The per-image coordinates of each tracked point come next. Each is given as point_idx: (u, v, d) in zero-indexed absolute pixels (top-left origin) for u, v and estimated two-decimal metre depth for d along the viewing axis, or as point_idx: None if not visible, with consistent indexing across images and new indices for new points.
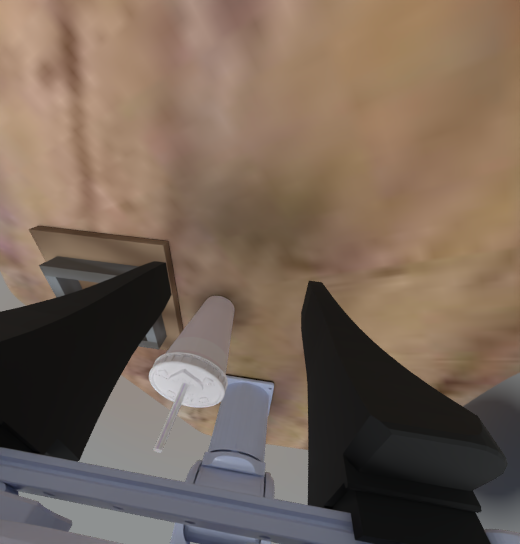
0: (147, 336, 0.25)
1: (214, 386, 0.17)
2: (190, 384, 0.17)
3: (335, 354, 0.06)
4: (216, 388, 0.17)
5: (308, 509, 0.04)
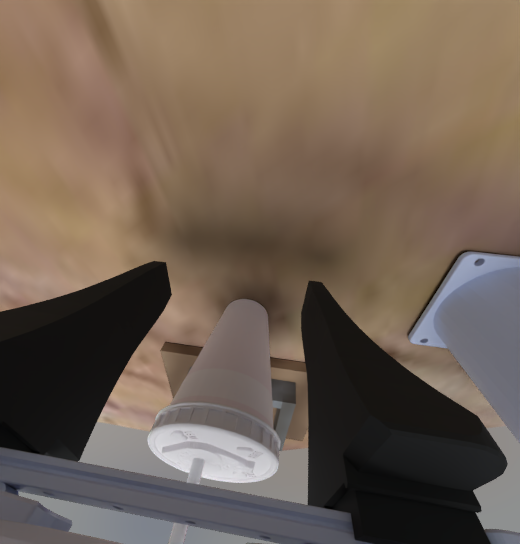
0: None
1: (194, 432, 0.09)
2: (192, 455, 0.10)
3: (335, 354, 0.06)
4: (198, 432, 0.09)
5: (308, 509, 0.04)
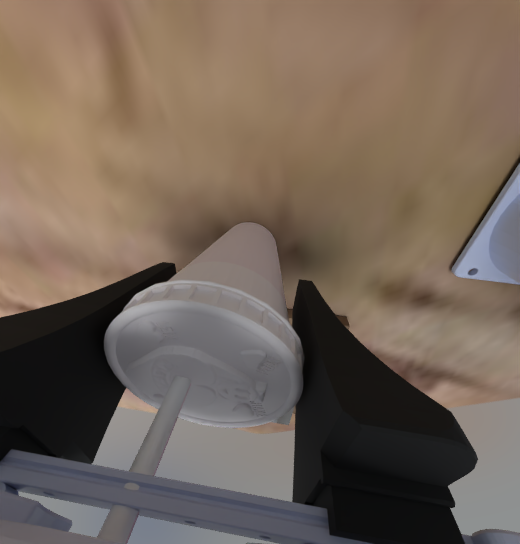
0: None
1: (171, 322, 0.06)
2: (171, 371, 0.06)
3: (318, 352, 0.06)
4: (179, 319, 0.05)
5: (308, 509, 0.04)
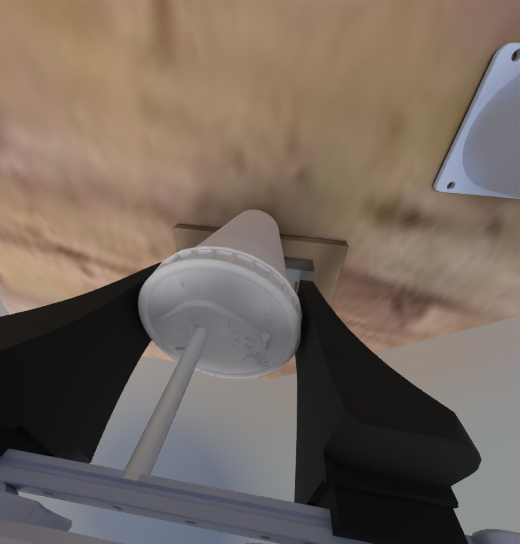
0: (288, 278, 0.19)
1: (196, 278, 0.07)
2: (193, 322, 0.08)
3: (320, 352, 0.06)
4: (202, 275, 0.07)
5: (308, 509, 0.04)
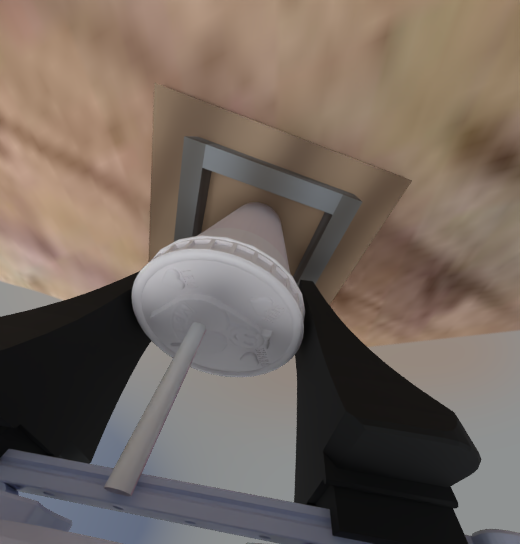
0: (320, 206, 0.13)
1: (193, 270, 0.07)
2: (190, 317, 0.07)
3: (320, 352, 0.06)
4: (200, 267, 0.06)
5: (308, 509, 0.04)
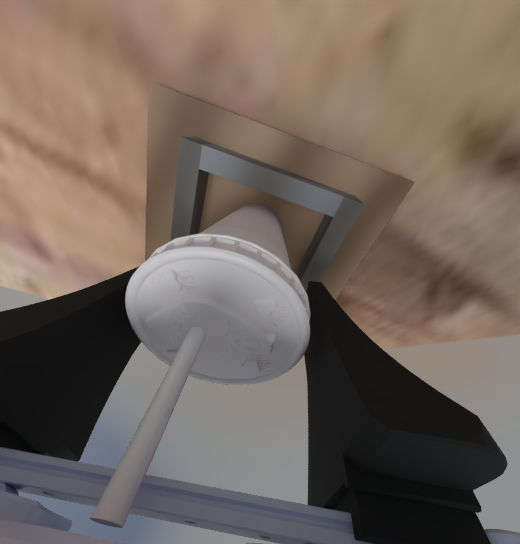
0: (320, 208, 0.12)
1: (193, 269, 0.06)
2: (188, 321, 0.07)
3: (335, 354, 0.06)
4: (200, 267, 0.06)
5: (308, 509, 0.04)
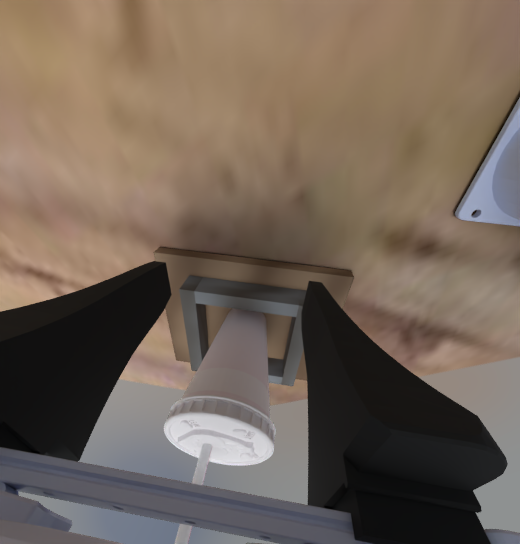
0: (285, 313, 0.17)
1: (196, 420, 0.11)
2: (200, 441, 0.12)
3: (335, 354, 0.06)
4: (198, 419, 0.11)
5: (308, 509, 0.04)
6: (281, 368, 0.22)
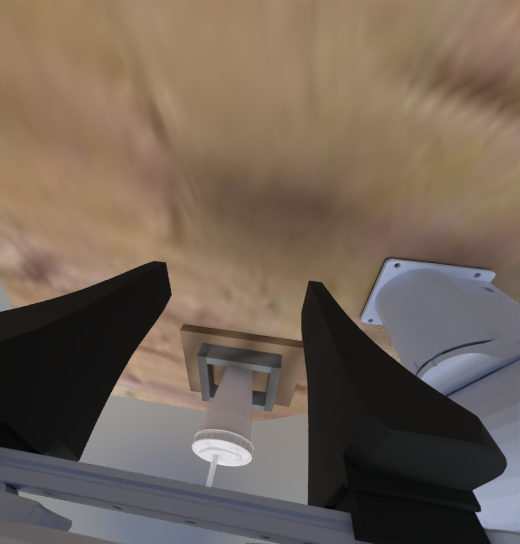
0: (263, 371, 0.26)
1: (210, 442, 0.21)
2: (212, 453, 0.22)
3: (335, 354, 0.06)
4: (211, 442, 0.21)
5: (308, 509, 0.04)
6: (264, 399, 0.32)
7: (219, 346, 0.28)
